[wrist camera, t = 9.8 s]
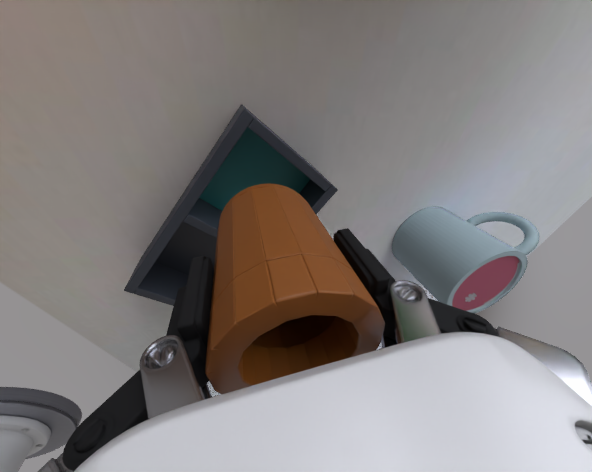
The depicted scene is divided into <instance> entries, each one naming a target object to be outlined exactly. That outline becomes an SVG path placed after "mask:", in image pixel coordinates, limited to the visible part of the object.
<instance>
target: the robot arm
mask: <svg viewBox="0 0 592 472" xmlns="http://www.w3.org/2000/svg"><path fill="white" fill-rule="evenodd" d="M334 242H335V244H336V245H337V247H338V248H339V250H340V251H341V253H342V254H343V255H344V257H345V258H346V260H347V261H348V263H349V264H350V266H351V267H352V269H353V270H354V272H355V273H356V275H357V276H358V278H359V279H360V281H361V282H362V284H363V285H364V287H365V288H366V290H367V291H368V293H369V294H370V295H371V297H372V298H373V300H374V301H375V303H376V304H377V306H378V308H379V310H380V313H381V315H382V317H383V319H384V322H385V327H384V331H383V335H382V339H381V343H382V349H379V350H375V351H372V352H368V353H364V354H361V355H357V356H354V357H350V358H347V359H343V360H339V361H336V362H332V363H329V364H325V365H322V366H318V367H315V368H311V369H308V370H304V371H301V372H297V373H294V374H290V375H287V376H283V377H280V378H276V379H273V380H270V381H266V382H263V383H259V384H256V385H252V386H249V387H246V388H242V389H239V390H235V391H232V392H228V393H225V394H221V395H218V396H215V397H212V395H211V393H210V390H209V388H208V385H207V382H208V381H209V379H208V377H207V376H206V374H205V365H206V354H207V343H208V332H209V320H210V309H211V298H212V287H213V276H214V267H213V264H212V261H211V259H210V258H206V256H200V257H194V258H192V262H191V266H190V271H189V275H188V280H187V284H186V286H185V287H180V288H179V289H178V292H177V296H176V300H175V304H174V308H173V311H172V315H171V319H170V323H169V327H168V331H167V335H166V336H164V337H161V338H159V339H157V340H156V341H154V342H153V343H151V344H150V345H149V346H148V347H147V348H146V350H145V351H144V353H143V354H142V357H141V359H140V370H139V371H138V372H137V373H136V374H135V375H134V376H133V377H131V379H129V380H128V381H127V382H126V383H125V384H124V385H123V386H122V387H120V388H119V389H118V390H117V391H116V392H115V393H114V394H113V395H112V396H111V397H109V398H108V399H107V400H106V401H105V402H104V403H103V404H102V405H101V406H100V407H99V408H97V409H96V410H95V411H94V412H93V413H92V414H91V415H90V416H89V417H88V418H86V419H85V420H84V421H83V422H82V423H81V425H79V426H78V427H77V428H76V430H75V431H74V432H73V434H72V435H71V437H70V438H69V439H68V442H67V444H66V446H65V448H64V452H63V453H62V454H61V455H60V456H59V457H58V458H57V459H54V458H52V459H51V460H49V461H48V462H47V463H46V464H45V465H44V466H43V467H42V468H41V469H40V470H39V471H38V472H592V384H591V381H590V378H589V376H588V373H587V370H586V369H585V367H584V365H583V364H582V363H581V362H580V361H579V360H578V359H577V358H576V357H575V356H573V355H571V354H570V353H568V352H567V351H565V350H563V349H561V348H558V347H555V346H553V345H550V344H547V343H544V342H541V341H538V340H536V339H533V338H530V337H527V336H524V335H521V334H518V333H516V332H512V331H510V330H507V329H504V328H501V327H498V328H497V329H495V328H493V326H492V325H491V324H490V323H489V322H488V321H487V320H485V319H484V318H482V317H480V316H479V315H476V314H474V313H471V312H468V311H465V310H462V309H459V308H456V307H453V306H450V305H447V304H444V303H441V302H438V301H435V300H432V299H429V298H427V295H426V293H425V291H424V289H422V288H421V287H420V286H419V285H417V284H416V283H413V282H411V281H406V280H399V281H395V280H394V279H393V277H392V276H391V275H390V274H389V273H388V272H387V270H386V269H385V268H384V267H383V266H382V264H381V263H380V262H379V261H378V260H377V259H376V257H375V256H374V255H373V254H372V253H371V252H370V251H369V250H368V249H365V248H364V247H363V245H362V244H361V243H360V242H359V241H358V240H357V238H356V237H355V236H354V235H353V234H352V232H351V231H350V230H349V229H342V230H338V231H337V233H335V234H334ZM50 436H51V430H50V429H49V427H48V426H47V425H45V424H44V423H42V422H39V421H37V420H34V419H30V418H25V417H19V416H9V415H0V472H18V471H19V469H20V467H21V466H22V464H23V462H24V460H25V458H26V457H27V456H30V455H32V454H34V453H36V452H38V451H40V450H41V449H42V448H43V447H45V446H46V444H47V442H48V440H49V439H50Z"/></svg>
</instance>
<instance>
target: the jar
mask: <svg viewBox="0 0 592 472" xmlns="http://www.w3.org/2000/svg"><path fill="white" fill-rule="evenodd" d="M384 327H385V322H384V319H383V317H382V315H381V313H380V310H379V308H378V306H377V304H376V303H375V301H374V300H373V298H372V297H371V295H370V294H369V293H368V291H367V290H366V288H365V287H364V285H363V284H362V282H361V281H360V279H359V278H358V276H357V275H356V273H355V272H354V270H353V269H352V267H351V266H350V264H349V263H348V261H347V260H346V258H345V257H344V255H343V254H342V253H341V251H340V250H339V248H338V247H337V245H336V244H335V242H334V241H333V239H332V238H331V236H330V235H329V233H328V232H327V230H326V229H325V227H324V226H323V224H322V223H321V221H320V220H319V218H318V217H317V216H316V214H315V213H314V211H313V210H312V208H311V207H310V205H309V204H308V202H307V201H306V200H305V199H304V198H303V197H302V196H301V195H300V194H299V193H297V192H296V191H294V190H293V189H291V188H289V187H286V186H283V185H279V184H268V183H267V184H259V185H254V186H251V187H248V188H246V189H244V190H242V191H240V192H239V193H237V194H236V195H235V196H234V197H233V198H231V199H230V201H229V202H228V203H227V204H226V206H225V207H224V209H223V211H222V213H221V216H220V220H219V227H218V232H217V243H216V254H215V265H214V276H213V287H212V298H211V309H210V320H209V332H208V343H207V354H206V365H205V374H206V376H207V377H208V379H209V381H210V383H211V384H212V386H213V388H214V390H215V391H217V392H218V393H220V394H225V393H228V392H232V391H235V390H239V389H242V388H246V387H249V386H252V385H256V384H259V383H263V382H266V381H270V380H273V379H276V378H280V377H283V376H287V375H290V374H294V373H297V372H301V371H304V370H308V369H311V368H315V367H318V366H322V365H325V364H329V363H332V362H336V361H339V360H343V359H347V358H350V357H354V356H357V355H361V354H364V353H368V352H372V351H375V350H376V349H377V348H378V346H379V344H380V343H381V339H382V335H383V331H384Z"/></svg>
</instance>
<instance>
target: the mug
mask: <svg viewBox="0 0 592 472" xmlns="http://www.w3.org/2000/svg"><path fill="white" fill-rule="evenodd" d="M490 221H502V222H507V223H511V224H513V225H516V226H517V227H519V228H520V229H521V230H522V231H523V232H524V235H525V237H524V240H523V242H522V243H521V244H520V245H518V246H517V247H514V248H513V247H512V246H510V245H508V244H506V243H505V242H503V241H501V240H499V239H497V238H496V237H494V236H492V235H490V234H488V233H487V232H485V231H483V230H481V229H479V228H478V227H476V226H477V225H479V224H481V223H485V222H490ZM538 243H539V232H538V230H537V228H536V227H535V226H534V225H533V224H532V223H531V222H530V221H529V220H527V219H525V218H523V217H521V216H518V215H515V214H511V213H505V212H489V213H483V214H480V215H476V216H474V217H472V218H470V219H468V220H467V221H465V220H463V219H462V218H460V217H458V216H456V215H454V214H453V213H451V212H449V211H447V210H445V209H444V208H441V207H428V208H425V209H422V210H420V211H418V212H416V213H415V214H413V215H412V216H410V217H409V218H408V219H407V220H406V221H405V222H404V223H403V224H402V225H401V226H400V228H399V229H398V231H397V232H396V234H395V236H394V239H393V243H392V251H393V254H394V256H395V257H396V258H397V259H398V260H399V261H400V262H401V264H402V265H403V266H404V267H405V268H406V269H407V270H408V271H409V272H410V273H411V274H412V275H413V276H414V277H415V278H416V279H417V280H418V281H419V282H420V283H421V284H422V285H423V286H424V287H425V288H426V289H427V290H428V291H429V292H430V293H431V294H432V295H433V296H434V297H435V298H436V299H437V300H438V301H439V302H441V303H444V304H447V305H450V306H453V307H456V308H459V309H462V310H465V311H468V312H471V313H474V314H475V313H477V312H480V311H482V310H484V309H486V308H488V307H490V306H491V305H493V304H494V303H496V302H497V301H499V300H500V299H502V298H503V297H504V296H505V295H506V294H508V293H509V292H510V291H511V290H512V289H513V288H514V287H515V285H516V284H517V283H518V282H519V281H520V279H521V278H522V276H523V274H524V273H525V270H526V267H527V257H526V255H528V254H529V253H530V252H531V251H533V250H534V249H535V248H536V246H537V244H538Z"/></svg>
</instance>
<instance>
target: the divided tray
mask: <svg viewBox="0 0 592 472" xmlns="http://www.w3.org/2000/svg"><path fill="white" fill-rule="evenodd" d="M267 183H268V184H279V185H283V186H286V187H289V188H291V189H293V190H294V191H296V192H297V193H299V194H300V195H301V196H302V197H303V198H304V199H305V200H306V201H307V202H308V204H309V205H310V207H311V208H312V210H313V211H314V213H315V214H317V213H318V212H319V210H320V209H321V208H322V207H323V206H324V205H325V204H326V203H327V201H328V200H329V199H330V198H331V197H332V196H333V195H334V194H335V192H336V191H337V188H335V187H334V186H333V185H332V184H331V183H330V182H329V181H328V180H327V179H326V178H325V177H324V176H323V175H322V174H321V173H319V172H318V171H317V170H316V169H315V168H314V167H313V166H311V165H310V164H309V163H308V162H307V161H306V160H305V159H303V158H302V157H301V156H300V155H299V154H298V153H297V152H295V151H294V150H293V149H292V148H291V147H290V146H289V145H288V144H286V143H285V142H284V141H283V140H282V139H281V138H280V137H278V136H277V135H276V134H275V133H274V132H273V131H272V130H270V129H269V128H268V127H267V126H266V125H265V124H264V123H262V122H261V121H260V120H259V119H258V118H257V117H256V116H254V115H253V114H252V113H251V112H250V111H249V110H248V109H246V108H245V107H244V106H243V105H241V106H240V107H239V109H238V110H237V112H236V113H235V115H234V116H233V118H232V119H231V121H230V123H229V124H228V126H227V127H226V129H225V130H224V132H223V133H222V135H221V136H220V138H219V139H218V141H217V142H216V144H215V145H214V147H213V149H212V150H211V152H210V153H209V155H208V156H207V158H206V159H205V161H204V162H203V164H202V165H201V167H200V168H199V170H198V171H197V173H196V175H195V176H194V178H193V179H192V181H191V182H190V184H189V185H188V187H187V188H186V190H185V191H184V193H183V194H182V196H181V197H180V199H179V200H178V202H177V204H176V205H175V207H174V208H173V210H172V211H171V213H170V214H169V216H168V217H167V219H166V220H165V222H164V223H163V225H162V226H161V228H160V230H159V231H158V233H157V234H156V236H155V237H154V239H153V240H152V242H151V243H150V245H149V246H148V248H147V249H146V251H145V252H144V254H143V256H142V257H141V259H140V261H139V263H138V264H137V266H136V268H135V270H134V272H133V274H132V276H131V278H130V280H129V281H128V283H127V285H126V287H125V289H124V291H127V292H130V293H134V294H137V295H140V296H143V297H146V298H150V299H153V300H156V301H160V302H163V303H166V304H169V305H173V306H174V304H175V300H176V296H177V292H178V289H179V288H180V287H185V286H186V284H187V280H188V275H189V271H190V266H191V262H192V258H194V257H200V256H206V258H210V259H211V261H212V264H213V267H214V265H215V254H216V243H217V232H218V227H219V220H220V216H221V213H222V211H223V209H224V207H225V206H226V204H227V203H228V202H229V201H230V199H231V198H233V197H234V196H235V195H236V194H237V193H239V192H240V191H242V190H244V189H246V188H248V187H251V186H254V185H259V184H267Z"/></svg>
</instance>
